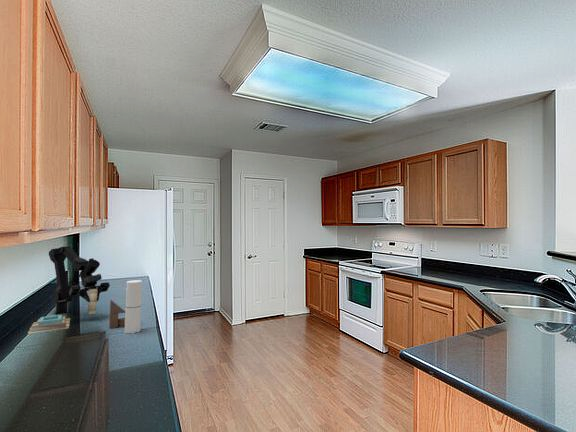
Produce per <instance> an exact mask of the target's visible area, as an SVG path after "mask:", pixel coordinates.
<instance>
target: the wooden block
mask: <svg viewBox="0 0 576 432" xmlns="http://www.w3.org/2000/svg"><path fill="white" fill-rule="evenodd" d="M109 305H110V306H109V322H108V323H109V329H115V328H119V327H125V317H122V318H119V314H125V309H123V308H122V307H121V306H120V305H118V303H116V302H115V301H113V300H112V299H110V303H109ZM124 306H125V308H126V304H125V305H124Z"/></svg>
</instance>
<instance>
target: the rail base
mask: <svg viewBox="0 0 576 432" xmlns="http://www.w3.org/2000/svg"><path fill="white" fill-rule="evenodd" d="M39 320H40V318H38V320H37V321H36V322H33V323H32V324H31V327H29V330H28V332H27V335H28V334H34V333H35V334H36V333H44V332H50V331H59V330H66V329H69V328H70V323H71V322H70V321H71V318H70V317H68V318H66V315H62V322H60V323H52V324H44V325H38V322H39Z"/></svg>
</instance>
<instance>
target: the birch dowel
mask: <svg viewBox="0 0 576 432" xmlns="http://www.w3.org/2000/svg"><path fill="white" fill-rule="evenodd" d="M88 296H89V299H90V302H87V303H88V306H87V314H88V315H93V314H96V313H97V312H98V311H97V308H98V306H97V305H98V301H97V289H89V291H88Z"/></svg>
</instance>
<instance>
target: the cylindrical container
mask: <svg viewBox="0 0 576 432" xmlns="http://www.w3.org/2000/svg"><path fill="white" fill-rule="evenodd" d="M125 290H126V291H125V305H126V308H125V309H124V311H125V313H124V318H125V326H124V334H127V333H131V334H136V333H135V332H137V333H139V332H141V324H142V323H141V321H142V320H141V319H142V318H141V317H142V298H143V297H142V295H143V294H142V293H143V280H142V279H141V280H140V279H136V280H135V279H134V280H133V279H132V280H127V281H126V287H125Z"/></svg>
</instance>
